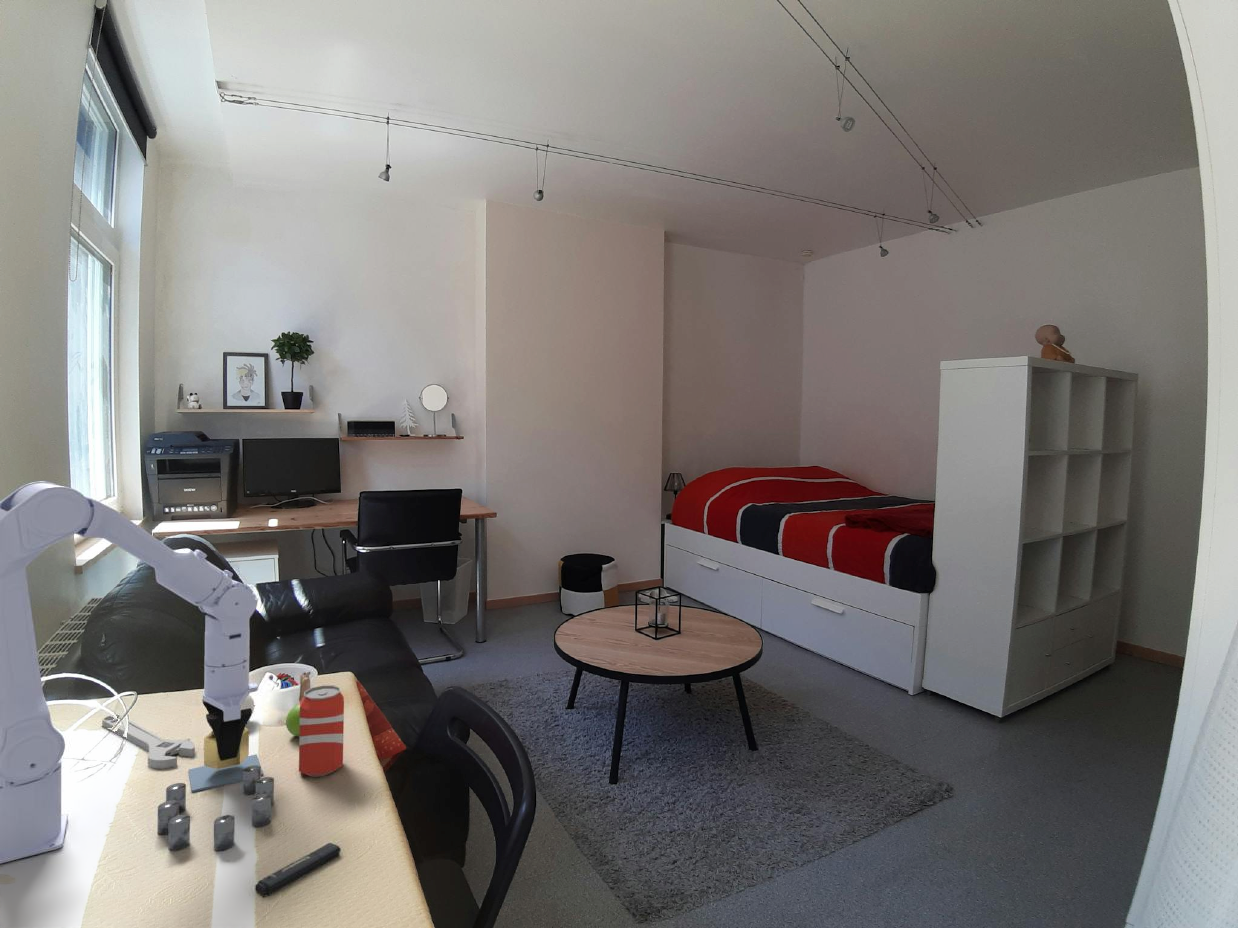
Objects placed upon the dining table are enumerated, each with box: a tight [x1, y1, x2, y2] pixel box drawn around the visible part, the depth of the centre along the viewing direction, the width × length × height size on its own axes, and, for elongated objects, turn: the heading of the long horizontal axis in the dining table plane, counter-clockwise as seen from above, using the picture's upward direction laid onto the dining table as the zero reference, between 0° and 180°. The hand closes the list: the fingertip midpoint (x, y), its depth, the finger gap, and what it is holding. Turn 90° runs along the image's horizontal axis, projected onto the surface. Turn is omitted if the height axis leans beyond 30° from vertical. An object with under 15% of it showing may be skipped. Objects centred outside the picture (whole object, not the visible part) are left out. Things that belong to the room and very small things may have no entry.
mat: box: [188, 754, 264, 793], centre depth 98 cm, size 9×7×1 cm
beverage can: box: [298, 684, 345, 777], centre depth 100 cm, size 6×6×12 cm
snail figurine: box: [285, 670, 312, 737], centre depth 111 cm, size 5×6×12 cm
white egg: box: [241, 694, 256, 714], centre depth 115 cm, size 8×6×6 cm
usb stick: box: [254, 842, 341, 897], centre depth 77 cm, size 10×3×2 cm, turn 147°
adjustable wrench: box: [101, 714, 196, 769], centre depth 108 cm, size 25×6×2 cm, turn 54°
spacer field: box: [157, 765, 275, 852], centre depth 86 cm, size 13×14×3 cm
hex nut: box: [203, 727, 250, 770], centre depth 98 cm, size 6×5×4 cm
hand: (226, 750), depth 98 cm, fingers closed on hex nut, 5 cm apart
